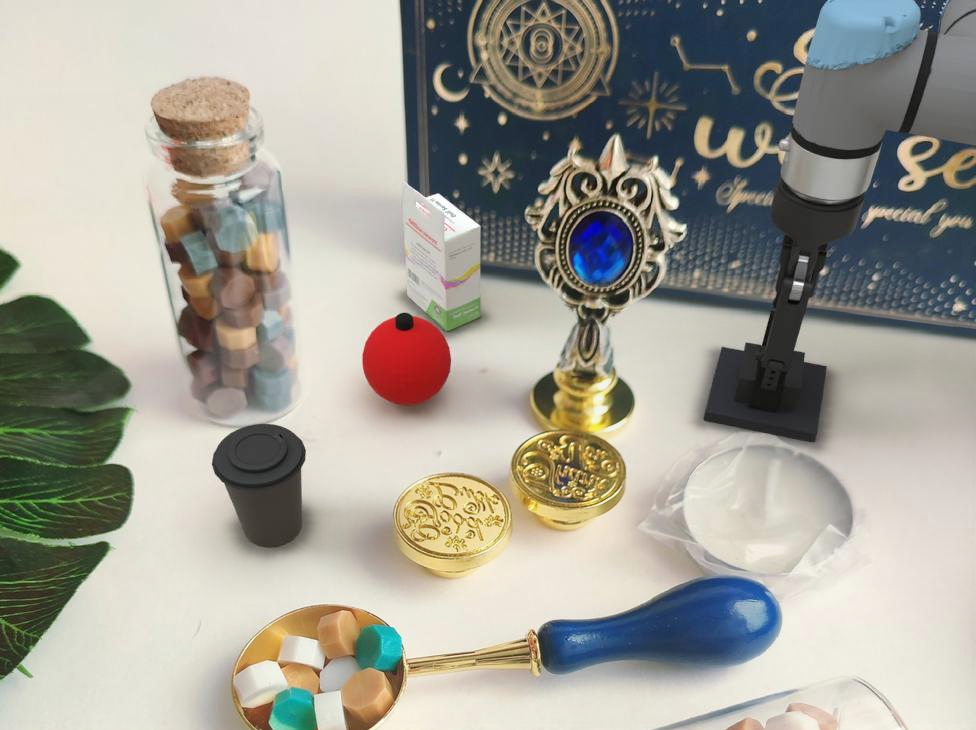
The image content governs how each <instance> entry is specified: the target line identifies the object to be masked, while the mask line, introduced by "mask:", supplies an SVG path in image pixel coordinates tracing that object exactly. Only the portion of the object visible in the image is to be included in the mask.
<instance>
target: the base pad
mask: <svg viewBox="0 0 976 730" xmlns="http://www.w3.org/2000/svg"><path fill="white" fill-rule="evenodd" d="M743 352H744V350H741V349H736V348H732V347H726V346H721V348H720V352H719V356H718V360H717V364H716V368H715V372H714V375H713V378H712V379H713V380H712V384H711V387H710V390H709V395H708V399H707V402H706V406H705V411H704V415H703V421H705V422H711V423H717V424H719V425H720V424H721V425H725V426H729V427H736V428H740V429H745V430H751V431H755V432H759V433H765V434H769V435H776V436H780V437H786V438H791V439H795V440H800V441H806V442H811V443H815V442H816V438H817V436H818V431H819V429H818V428H819V423H820V416H821V409H822V402H823V395H824V388H825V381H826V374H827V368H828V367H827V365H823V364H818V363H812V362H806V361H804V366H803V373H802V381H801V389H800V392H799V396H798V399H797V403H796V406H795V410H794V411H788V410H783V409H777V408H776V412H772V411H767V410H763V409H758V408H753V407H748V405H749V403H744V402H738V401H734V397H735V391H736V386H737V381H738V376H739V371H740V365H741V361H742V357H743Z"/></svg>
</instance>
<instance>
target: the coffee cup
mask: <svg viewBox="0 0 976 730" xmlns="http://www.w3.org/2000/svg"><path fill="white" fill-rule="evenodd" d="M306 454H307V449H306V446H305V445H304V442H303V440H302V439H301V438H300V437H299V436H298V435H297V434H296V433H295V432H293V431H292V430H290V429H288V428H286V427H284V426H281V425H278V424H273V423H256V424H250V425H246V426H243V427H240V428H238V429H235V430H234V431H232V432H231V433H228V434H227V435H226V436H225V437H223V439H222V440H221V441H220V442H219V444H218V445H217V447H216V449H215V451H214V452H213V454H212V461H211V466H212V470H213V473H214V475H215V476H216V477H217V478H218V479H219V480H220V482H221V483H223V484H224V486H225V489H226V491H227V493H228V496H229V498H230V502H231V503H232V505H233V508H234V511H235V514H236V515H237V518H238V520H239V523H240V526H241V527H242V530H243V533H244V535H245V537H246V538H247V539H248V541H249V542H251V543H253V544H254V545H256V546H259V547H263V548H277V547H280V546H284V545H286V544H288V543H290V542H292V541H293V540H294V539H296V537H297V536H298V535H299V534H300V533H301V530H302V526H303V501H302V500H303V496H302V495H303V493H302V491H303V488H302V487H303V486H302V485H303V483H302V467H303V466H304V463H305V462H306Z"/></svg>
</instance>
